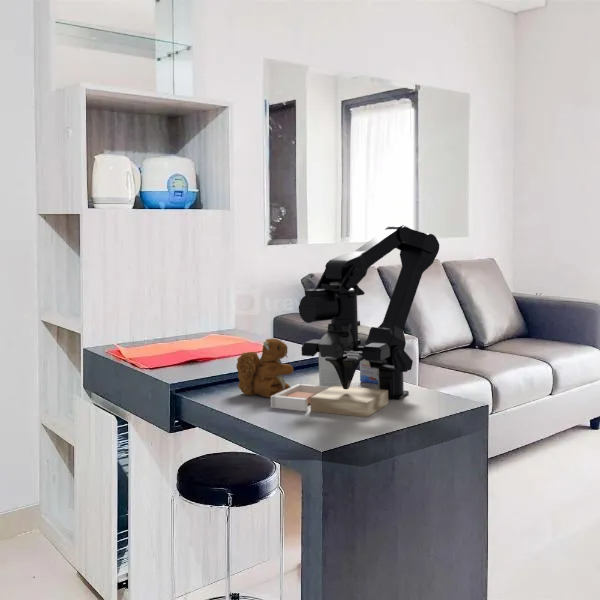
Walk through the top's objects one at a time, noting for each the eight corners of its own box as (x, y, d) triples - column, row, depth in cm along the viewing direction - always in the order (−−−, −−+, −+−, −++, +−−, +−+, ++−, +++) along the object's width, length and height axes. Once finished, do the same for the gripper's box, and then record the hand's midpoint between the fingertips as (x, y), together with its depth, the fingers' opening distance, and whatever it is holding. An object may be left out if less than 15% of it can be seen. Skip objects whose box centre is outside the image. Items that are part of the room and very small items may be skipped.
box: (298, 394, 170) (298, 383, 170) (331, 397, 167) (331, 386, 166) (271, 407, 159) (270, 396, 159) (305, 411, 155) (305, 399, 155)
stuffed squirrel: (291, 399, 166) (289, 342, 165) (230, 399, 168) (228, 342, 167) (297, 389, 176) (295, 335, 175) (239, 389, 178) (237, 335, 177)
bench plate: (334, 398, 166) (334, 385, 165) (388, 403, 160) (388, 390, 159) (310, 411, 155) (310, 397, 155) (367, 417, 149) (367, 402, 149)
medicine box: (359, 382, 181) (358, 348, 180) (368, 378, 185) (367, 345, 184) (388, 385, 177) (387, 350, 176) (396, 381, 181) (395, 347, 180)
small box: (342, 391, 172) (341, 347, 171) (319, 390, 173) (317, 347, 172) (347, 383, 180) (346, 341, 179) (324, 383, 181) (323, 341, 180)
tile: (316, 393, 164) (316, 402, 164) (296, 391, 166) (297, 399, 167) (305, 398, 160) (305, 407, 160) (285, 396, 162) (286, 405, 162)
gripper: (287, 321, 153) (290, 393, 155) (368, 324, 144) (370, 401, 146) (312, 314, 163) (314, 382, 165) (390, 317, 154) (391, 389, 156)
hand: (346, 389), depth 157 cm, fingers closed
